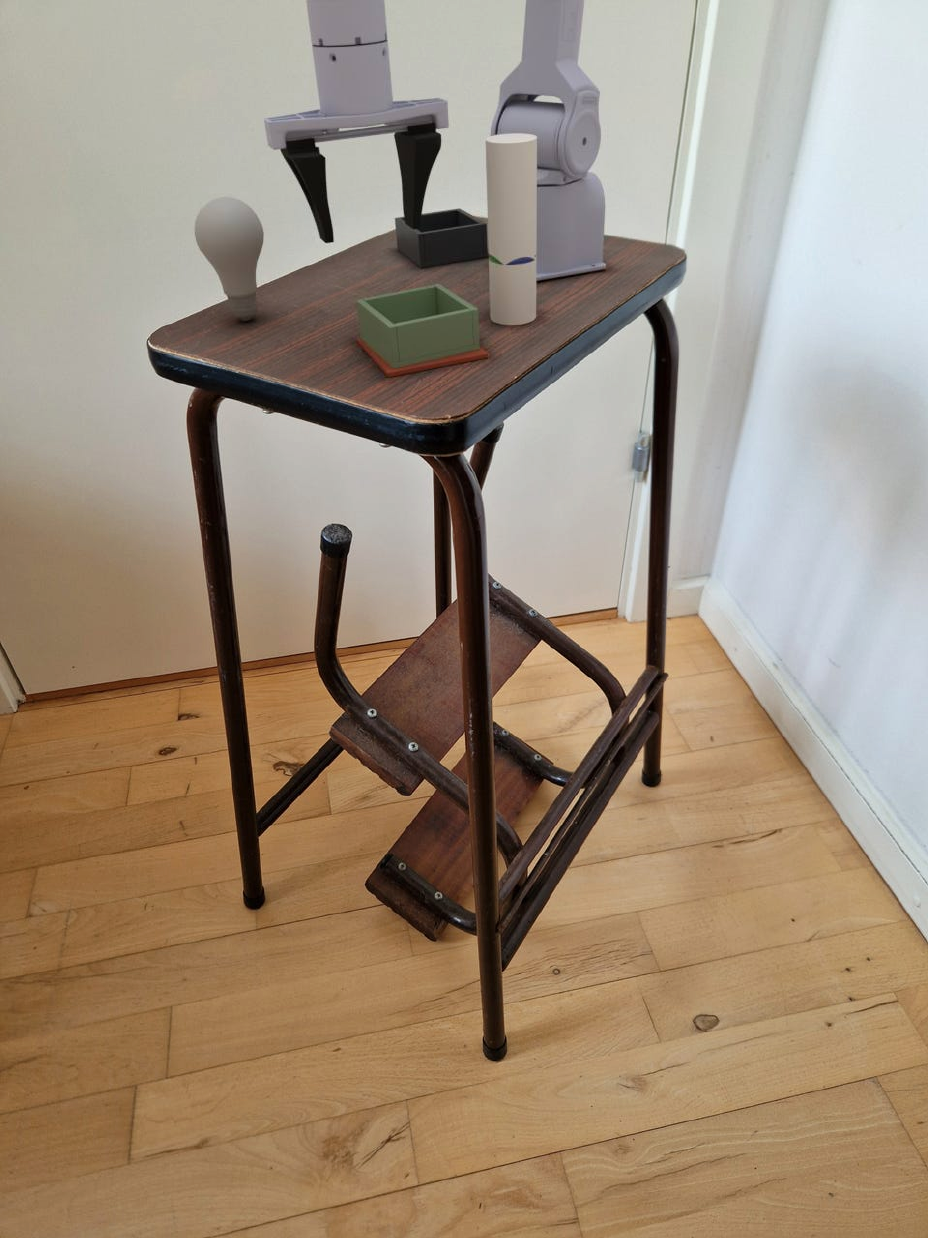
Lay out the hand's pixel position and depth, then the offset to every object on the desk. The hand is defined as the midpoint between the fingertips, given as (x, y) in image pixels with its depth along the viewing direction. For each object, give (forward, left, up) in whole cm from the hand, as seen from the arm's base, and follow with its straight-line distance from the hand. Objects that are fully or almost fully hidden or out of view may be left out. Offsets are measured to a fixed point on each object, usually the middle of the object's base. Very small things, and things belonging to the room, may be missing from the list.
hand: (370, 232), depth 75 cm
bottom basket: (-14, -22, -9) cm, 28 cm away
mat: (-2, +5, -9) cm, 10 cm away
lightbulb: (+10, -11, -9) cm, 18 cm away
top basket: (-2, +4, -9) cm, 10 cm away
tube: (-13, +1, -9) cm, 16 cm away
